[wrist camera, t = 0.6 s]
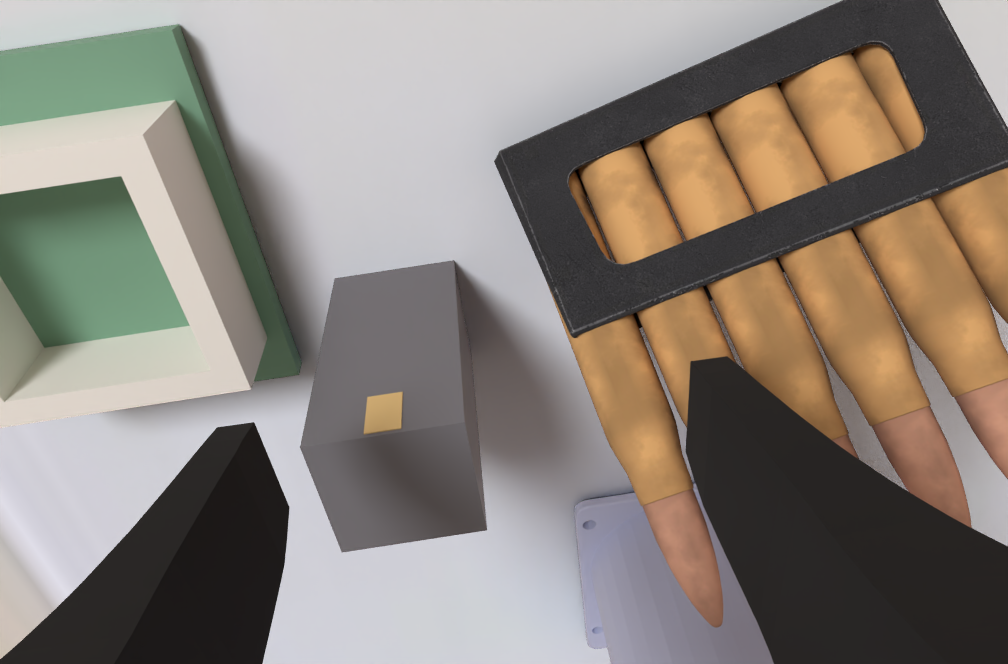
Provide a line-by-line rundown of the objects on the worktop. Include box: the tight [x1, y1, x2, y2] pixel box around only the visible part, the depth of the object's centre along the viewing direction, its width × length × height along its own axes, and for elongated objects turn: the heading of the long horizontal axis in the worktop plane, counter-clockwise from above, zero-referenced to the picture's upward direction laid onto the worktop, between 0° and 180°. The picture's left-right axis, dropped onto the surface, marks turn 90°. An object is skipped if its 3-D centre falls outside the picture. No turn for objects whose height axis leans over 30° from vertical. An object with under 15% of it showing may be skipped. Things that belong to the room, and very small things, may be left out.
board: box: [0, 24, 302, 428], centre depth 18 cm, size 10×8×3 cm
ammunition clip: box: [494, 0, 1008, 628], centre depth 16 cm, size 11×2×12 cm
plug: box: [300, 261, 487, 552], centre depth 19 cm, size 4×4×7 cm
